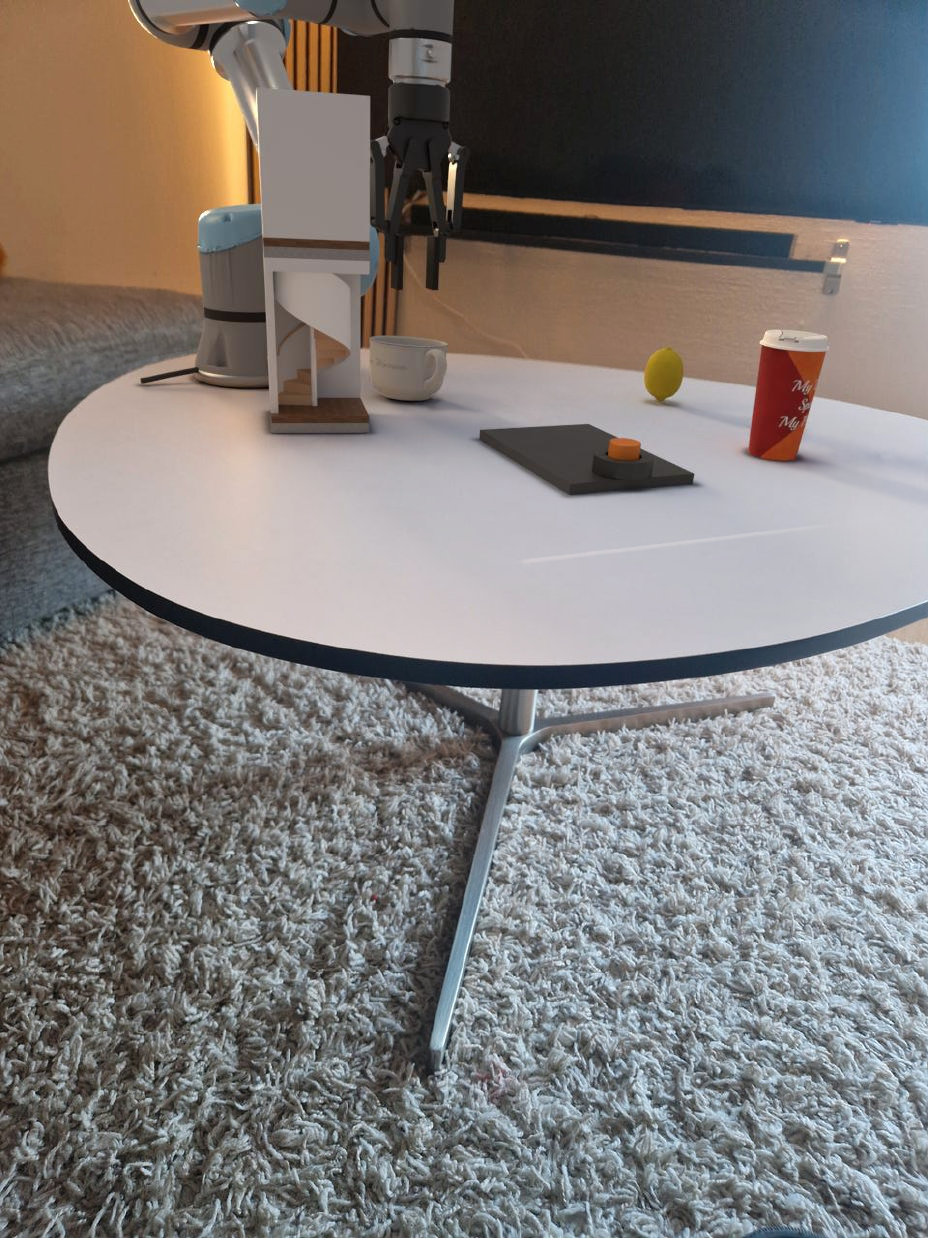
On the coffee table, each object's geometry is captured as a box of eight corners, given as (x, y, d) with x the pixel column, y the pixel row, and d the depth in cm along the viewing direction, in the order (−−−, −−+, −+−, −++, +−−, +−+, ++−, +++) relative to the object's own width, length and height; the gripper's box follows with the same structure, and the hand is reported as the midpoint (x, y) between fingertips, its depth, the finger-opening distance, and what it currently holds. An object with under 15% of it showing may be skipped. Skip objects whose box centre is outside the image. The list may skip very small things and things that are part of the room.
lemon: (637, 403, 130) (645, 346, 127) (645, 396, 135) (652, 341, 132) (675, 408, 129) (684, 350, 125) (681, 401, 133) (690, 345, 130)
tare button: (618, 463, 91) (620, 446, 90) (601, 455, 93) (603, 438, 93) (644, 461, 92) (647, 444, 91) (627, 453, 95) (630, 436, 94)
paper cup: (796, 467, 103) (824, 341, 97) (731, 454, 107) (753, 332, 100) (812, 453, 109) (838, 334, 103) (749, 442, 113) (771, 326, 107)
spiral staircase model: (271, 432, 105) (256, 87, 90) (270, 411, 114) (256, 95, 99) (368, 432, 107) (370, 95, 92) (359, 411, 117) (359, 102, 101)
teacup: (358, 390, 128) (358, 332, 125) (428, 387, 133) (429, 331, 129) (393, 413, 117) (394, 350, 114) (467, 409, 121) (471, 348, 118)
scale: (571, 497, 89) (575, 467, 87) (479, 439, 107) (480, 414, 106) (696, 486, 94) (700, 458, 93) (587, 432, 113) (590, 409, 111)
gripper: (360, 74, 102) (360, 291, 112) (497, 89, 109) (485, 292, 119) (341, 79, 108) (343, 284, 118) (472, 92, 115) (463, 286, 125)
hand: (414, 288), depth 119 cm, fingers open, 4 cm apart
